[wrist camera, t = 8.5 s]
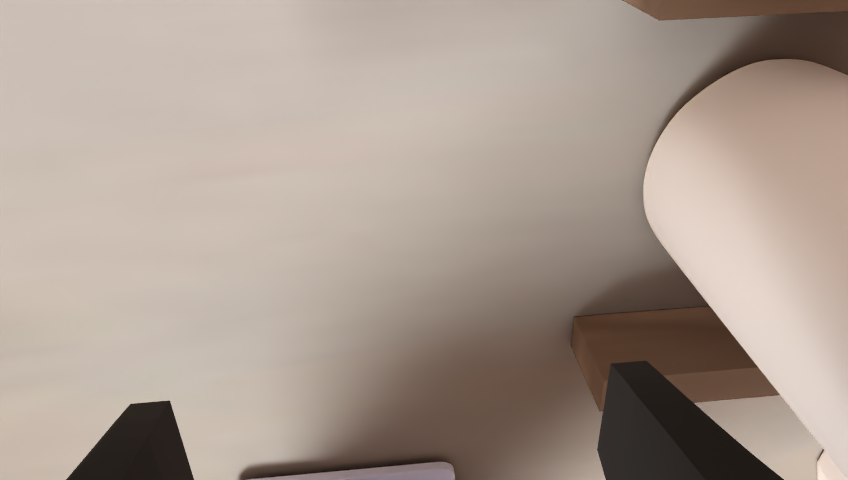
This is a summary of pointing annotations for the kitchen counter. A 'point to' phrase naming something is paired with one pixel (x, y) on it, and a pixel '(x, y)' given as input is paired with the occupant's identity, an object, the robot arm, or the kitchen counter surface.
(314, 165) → the kitchen counter surface
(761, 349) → the can
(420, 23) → the kitchen counter surface
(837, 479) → the white cup
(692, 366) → the bay
